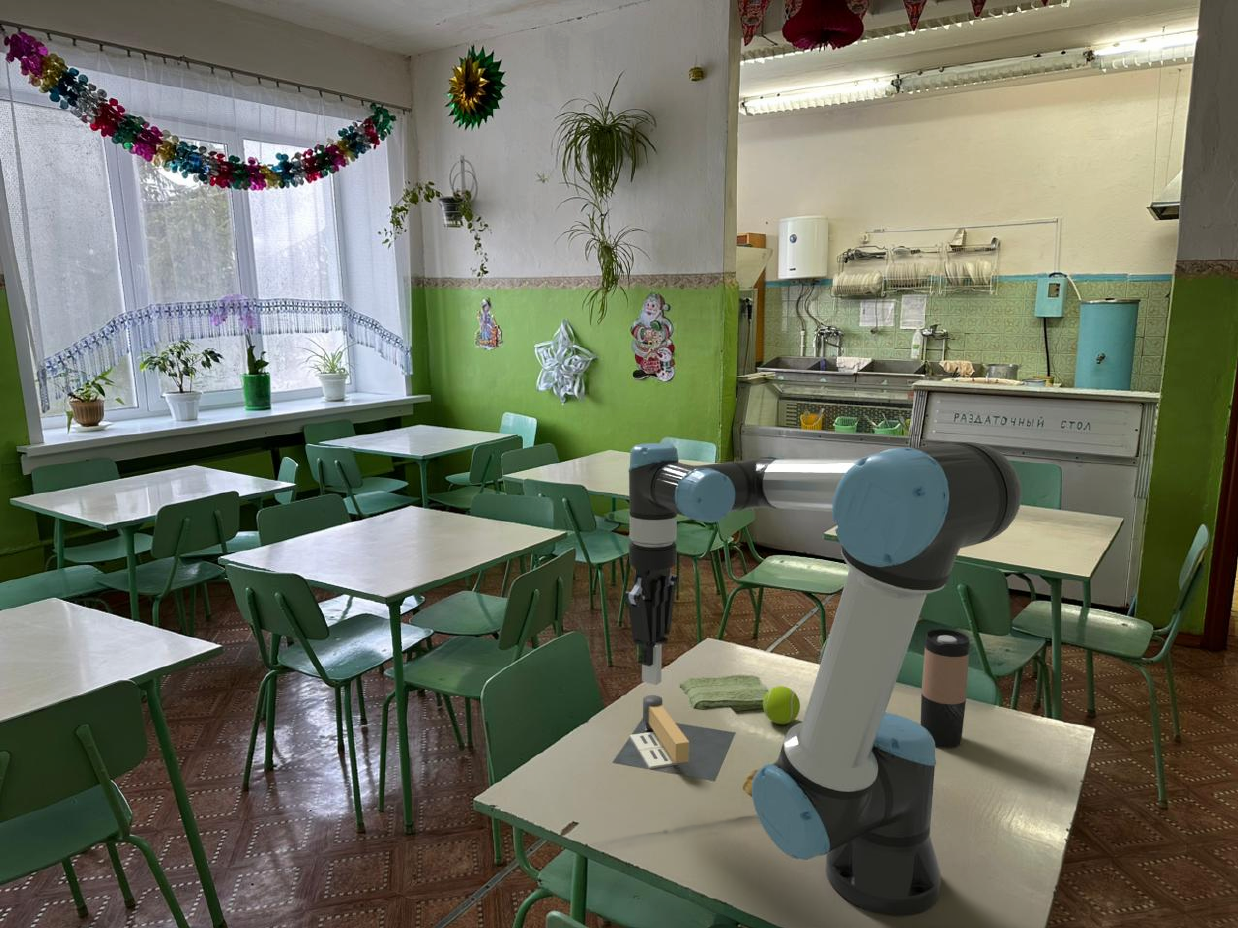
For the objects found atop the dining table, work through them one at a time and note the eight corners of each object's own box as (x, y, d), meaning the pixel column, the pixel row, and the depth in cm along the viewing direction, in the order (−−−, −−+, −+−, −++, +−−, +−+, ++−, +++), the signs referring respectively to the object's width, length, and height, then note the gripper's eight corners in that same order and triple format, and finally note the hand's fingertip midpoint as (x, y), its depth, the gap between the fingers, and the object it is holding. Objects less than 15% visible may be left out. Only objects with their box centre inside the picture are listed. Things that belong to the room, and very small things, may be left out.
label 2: (639, 751, 148) (639, 748, 148) (665, 747, 149) (665, 745, 149) (649, 768, 142) (649, 766, 142) (677, 764, 144) (677, 761, 144)
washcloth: (778, 711, 167) (779, 696, 167) (693, 718, 164) (693, 702, 163) (756, 683, 180) (757, 669, 179) (677, 689, 177) (677, 675, 176)
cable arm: (640, 716, 157) (640, 696, 157) (658, 713, 158) (658, 694, 158) (672, 763, 140) (672, 741, 140) (692, 760, 141) (692, 738, 141)
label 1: (629, 736, 153) (629, 734, 153) (655, 733, 154) (655, 730, 154) (639, 752, 147) (639, 750, 147) (666, 748, 149) (666, 746, 149)
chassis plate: (714, 787, 139) (714, 772, 138) (612, 768, 144) (612, 754, 144) (735, 738, 155) (735, 724, 155) (642, 723, 161) (643, 710, 160)
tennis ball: (801, 717, 164) (803, 683, 162) (795, 733, 157) (797, 698, 156) (766, 711, 166) (767, 678, 165) (759, 726, 160) (760, 692, 158)
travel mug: (955, 729, 158) (963, 629, 155) (968, 750, 151) (976, 645, 148) (914, 727, 159) (920, 627, 156) (924, 748, 152) (931, 643, 148)
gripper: (654, 529, 140) (653, 662, 144) (609, 546, 129) (609, 690, 133) (693, 535, 136) (691, 672, 140) (650, 554, 125) (649, 702, 129)
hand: (651, 681), depth 136 cm, fingers closed
